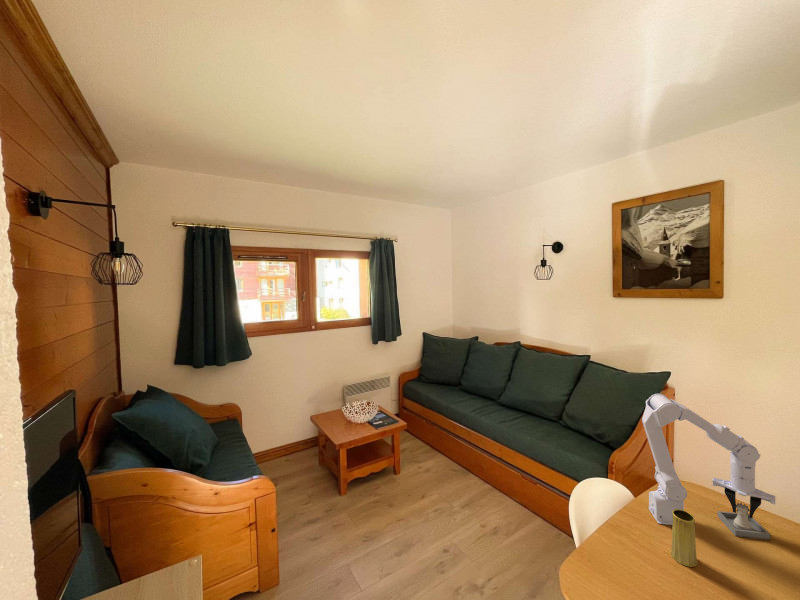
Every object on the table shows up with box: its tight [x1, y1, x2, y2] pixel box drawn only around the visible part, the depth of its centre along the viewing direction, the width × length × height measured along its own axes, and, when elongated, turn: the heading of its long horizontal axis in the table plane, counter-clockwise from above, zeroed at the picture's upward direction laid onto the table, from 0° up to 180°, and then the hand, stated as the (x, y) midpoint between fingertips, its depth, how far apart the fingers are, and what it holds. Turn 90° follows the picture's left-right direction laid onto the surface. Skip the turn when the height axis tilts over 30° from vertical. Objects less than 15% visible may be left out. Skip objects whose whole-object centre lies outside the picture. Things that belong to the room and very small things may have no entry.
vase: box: [670, 509, 698, 568], centre depth 101 cm, size 6×6×14 cm
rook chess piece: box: [733, 502, 752, 531], centre depth 110 cm, size 4×4×8 cm
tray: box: [717, 510, 771, 541], centre depth 111 cm, size 9×9×2 cm
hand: (742, 513), depth 110 cm, fingers closed on rook chess piece, 3 cm apart
